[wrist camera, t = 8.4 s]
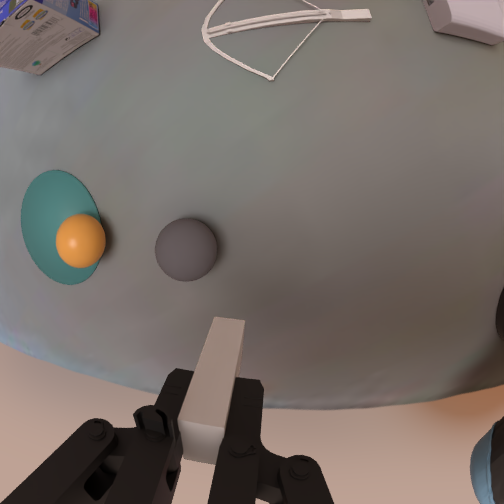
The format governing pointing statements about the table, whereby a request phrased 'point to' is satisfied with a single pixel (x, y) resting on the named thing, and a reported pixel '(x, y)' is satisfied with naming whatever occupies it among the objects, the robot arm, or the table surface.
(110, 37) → the table surface
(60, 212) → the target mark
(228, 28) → the crossbow
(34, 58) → the ink cartridge box
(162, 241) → the dark grey ball
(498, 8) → the charger
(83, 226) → the object ball
